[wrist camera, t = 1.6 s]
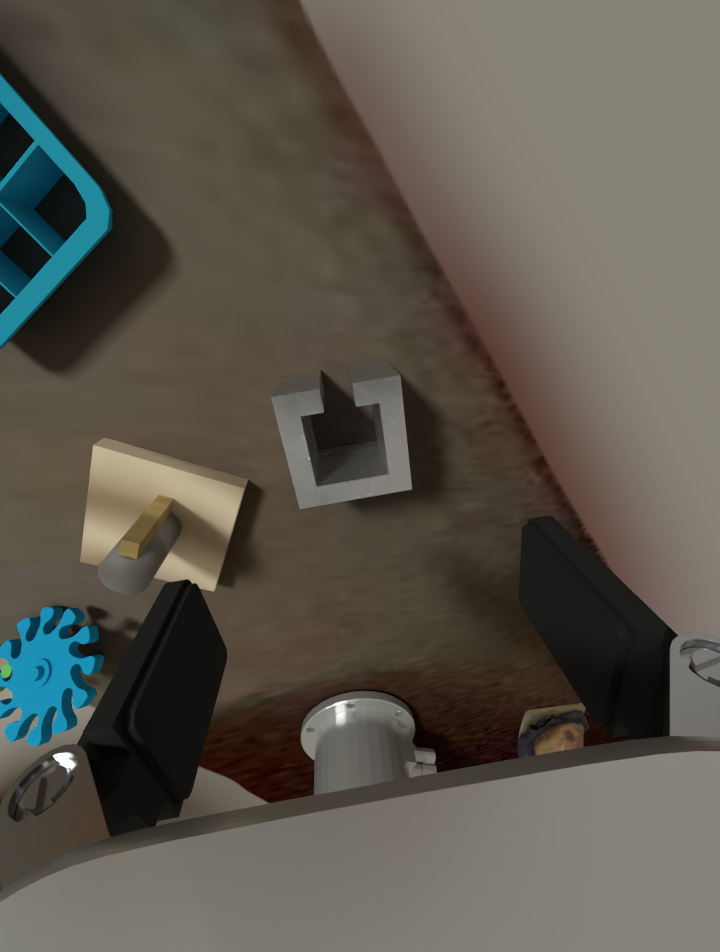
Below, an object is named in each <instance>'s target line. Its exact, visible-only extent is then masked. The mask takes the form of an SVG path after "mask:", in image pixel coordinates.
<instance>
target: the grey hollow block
mask: <svg viewBox="0 0 720 952" xmlns="http://www.w3.org/2000/svg"><path fill="white" fill-rule="evenodd" d="M347 371H348V377H349V383H350V387H351V391H352V394H353V398H354V401H355V405H356V407H359V406H364V405H370V404H371V405H372V412H373V419H374V426H375V433H376V440H375V441H369V442H363V443H357V444H352V445H346V446H340V447H334V448H328V449H323V450H318V447H317V443H316V438H315V433H314V429H313V424H312V420H311V415H312V414H318V413H324V386H323V381H322V375H321V370H316V371H310V372H304V373H298V374H292V375H286V376H282V378H281V380H280V382H279V383H278V385H277V387H276V389H275V391H274V393H273V395H272V396H271V399H272V403H273V407H274V411H275V415H276V419H277V422H278V426H279V430H280V434H281V438H282V442H283V446H284V450H285V453H286V457H287V461H288V465H289V469H290V473H291V477H292V481H293V484H294V488H295V492H296V496H297V500H298V504H299V508H300V509H303V508H309V507H314V506H320V505H326V504H332V503H337V502H343V501H349V500H354V499H360V498H366V497H372V496H377V495H383V494H389V493H395V492H400V491H406V490H412V483H411V474H410V464H409V454H408V444H407V435H406V425H405V415H404V406H403V396H402V386H401V377H400V374H399V373H398V372H397V371H396V370H395V369H394V368H393V367H392V366H391V365H390V364H389V363H388V362H387V361H386V360H385V359H380V360H374V361H368V362H363V363H357V364H351V365H347Z"/></svg>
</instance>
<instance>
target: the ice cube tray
mask: <svg viewBox="0 0 720 952" xmlns="http://www.w3.org/2000/svg"><path fill="white" fill-rule="evenodd" d="M9 113H10V114H11V115H12V116H13V117H14V118H15V119H16V120H17V121H18V123H19V124H20V125H21V126H22V127H23V128H24V129H25V130H26V131H27V132H28V134H29V135H30V136H31V137H32V138H33V139H34V140H35V141H34V142H33V143H32V144H31V146H30V147H29V148H28V149H27V151H26V152H25V153H24V154H23V156H22V157H21V158H20V159H19V160H18V162H17V163H16V164H15V165H14V167H13V168H12V169H11V170H10V172H9V173H8V174H7V175H6V177H5V178H3V177H2V176H1V175H0V249H1V247H2V246H3V245H4V244H5V243H6V242H7V240H8V239H9V238H10V237H11V236H12V234H13V233H14V232H15V231H16V230H17V229H18V227H19V226H20V225H21V226H22V227H23V228H24V229H25V230H26V231H27V232H28V233H29V234H30V235H31V236H32V237H33V238H34V239H35V240H36V241H37V242H38V243H39V244H40V245H41V246H42V247H43V248H44V249H45V250H46V251H47V252H48V253H49V254H50V255H51V256H52V258H51V259H50V260H49V261H48V262H47V263H46V264H45V265H44V267H43V268H42V269H41V270H40V271H39V272H38V273H37V274H36V275H35V277H34V278H33V279H31V278H30V277H28V276H27V275H26V274H25V273H24V272H23V271H22V270H21V269H20V268H19V267H18V266H17V265H16V264H15V263H14V262H13V261H12V260H11V259H9V258H8V257H7V256H6V255H5V254H4V253H3V252H2V251H1V250H0V284H1V285H2V286H3V287H4V288H5V289H6V290H7V291H8V292H9V293H10V294H12V295H13V296H14V297H15V299H14V300H13V301H12V302H11V303H10V305H9V306H8V307H7V308H6V309H5V310H4V311H3V312H2V313H1V315H0V349H2V348H3V347H4V346H5V345H6V344H7V342H8V341H9V340H10V339H11V338H12V337H13V336H14V335H15V334H16V333H17V332H18V331H19V329H20V328H21V327H22V326H23V325H24V324H25V323H26V322H27V321H28V320H29V319H30V318H31V316H32V315H33V314H34V313H35V312H36V311H37V310H38V309H39V308H40V307H41V306H42V304H43V303H44V302H45V301H46V300H47V299H48V298H49V297H50V296H51V295H52V294H53V293H54V291H55V290H56V289H57V288H58V287H59V286H60V285H61V284H62V283H63V282H64V281H65V280H66V278H67V277H68V276H69V275H70V274H71V273H72V272H73V271H74V270H75V269H76V268H77V266H78V265H79V264H80V263H81V262H82V261H83V260H84V259H85V258H86V257H87V256H88V255H89V253H90V252H91V251H92V250H93V249H94V248H95V247H96V246H97V245H98V244H99V243H100V242H101V240H102V239H103V238H104V237H105V236H106V235H107V234H108V233H109V232H110V231H111V230H112V228H113V224H112V214H113V211H112V209H111V207H110V204H109V202H108V200H107V198H106V196H105V193H104V191H103V189H102V188H101V187H100V185H99V184H98V183H97V182H96V181H95V180H94V179H93V177H92V176H91V175H90V174H89V173H88V172H87V171H86V170H85V168H84V167H83V166H82V165H81V164H80V163H79V162H78V160H77V159H76V158H75V157H74V156H73V155H72V154H71V153H70V151H69V150H68V149H67V148H66V147H65V146H64V145H63V144H62V142H61V141H60V140H59V139H58V138H57V137H56V136H55V134H54V133H53V132H52V131H51V130H50V129H49V128H48V127H47V125H46V124H45V123H44V122H43V121H42V120H41V119H40V117H39V116H38V115H37V114H36V113H35V112H34V111H33V110H32V108H31V107H30V106H29V105H28V104H27V103H26V102H25V100H24V99H23V98H22V97H21V96H20V95H19V94H18V93H17V91H16V90H15V89H14V88H13V87H12V86H11V85H10V83H9V82H8V81H7V80H6V79H5V78H4V77H3V76H2V74H1V73H0V125H1V123H2V122H3V121H4V120H5V118H6V117H7V116H8V114H9ZM64 173H65V174H66V175H67V177H68V178H69V179H70V180H71V181H72V182H73V183H74V185H75V186H76V188H77V190H78V191H79V193H80V195H81V196H82V198H83V200H84V201H85V203H86V220H85V221H84V222H83V223H82V224H81V225H80V226H79V227H78V229H77V230H76V231H75V232H74V233H73V234H72V235H71V236H70V238H69V239H68V240H67V241H66V242H65V241H64V240H63V239H62V238H61V237H60V236H59V235H58V234H57V232H56V231H55V230H54V229H53V228H52V227H51V226H50V225H49V224H48V223H47V222H46V221H45V220H44V219H43V218H42V217H41V216H40V215H39V214H38V213H37V212H36V211H35V210H34V209H35V207H36V206H37V205H38V204H39V203H40V201H41V200H42V199H43V198H44V197H45V196H46V194H47V193H48V192H49V191H50V190H51V189H52V187H53V186H54V185H55V184H56V183H57V181H58V180H59V179H60V178H61V177H62V176H63V174H64Z"/></svg>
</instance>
